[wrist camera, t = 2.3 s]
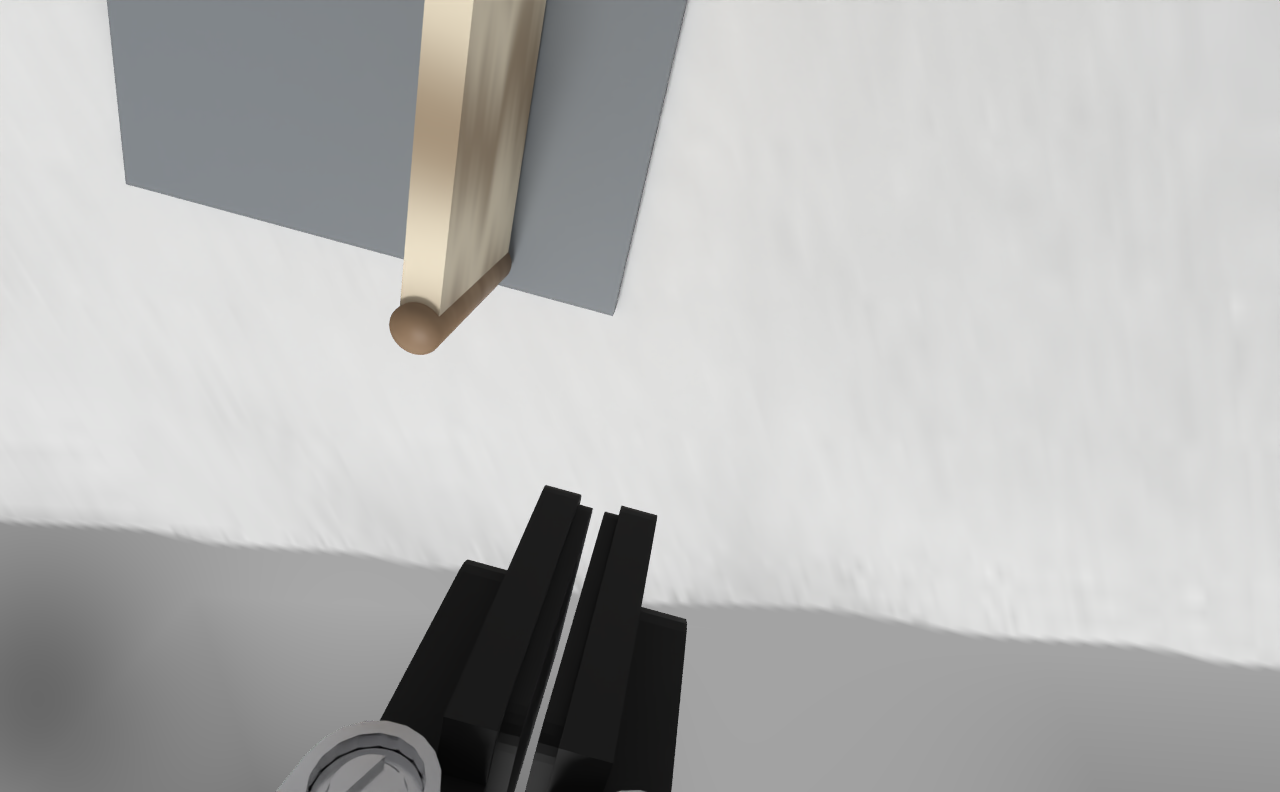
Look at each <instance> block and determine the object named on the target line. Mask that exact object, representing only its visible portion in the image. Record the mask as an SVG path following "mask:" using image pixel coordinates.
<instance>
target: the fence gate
mask: <svg viewBox="0 0 1280 792" xmlns="http://www.w3.org/2000/svg"><path fill="white" fill-rule="evenodd" d="M545 6H546V0H425V3H424V15H423V27H422V40H421V52H420V65H419V77H418V90H417V102H416V114H415V127H414V139H413V152H412V164H411V176H410V189H409V201H408V214H407V226H406V239H405V251H404V263H403V276H402V288H401V301H400V307H398V308H397V309H396V310H395V311H394V312H393V313H392V315H391V318H390V322H389V327H390V332H391V335H392V337H393V339H394V340H395V342H396V343H397V344H398V345H399V346H400V347H401V348H403V349H404V350H406V351H407V352H410V353H412V354H417V355H424V354H428V353H430V352H432V351H434V350H435V349H436V348H437V347H438V346H439V345H440V344H441V343H442V342H443V341H444V340H445V339H446V338H447V337H448V336H449V335H450V334H451V333H452V332H453V331H454V330H455V329H456V327H457V326H458V325H459V324H460V323H461V322H462V321H463V320H464V319H465V318H466V317H467V316H468V315H469V314H470V313H471V312H472V311H473V310H474V309H475V308H476V307H477V306H478V305H479V304H480V303H481V302H482V301H483V300H484V299H485V298H486V297H487V296H488V295H489V294H490V293H491V292H492V291H493V290H494V288H495V287H496V286H497V285H498V284H499V283H500V282H501V281H502V280H503V279H504V278H505V277H506V276H507V275H508V274H509V272H510V270H511V265H512V262H511V257H510V254H509V252H508V251H509V244H510V238H511V231H512V224H513V218H514V211H515V204H516V198H517V191H518V185H519V178H520V171H521V165H522V158H523V151H524V145H525V138H526V132H527V125H528V118H529V112H530V105H531V99H532V92H533V85H534V79H535V72H536V65H537V59H538V52H539V46H540V39H541V32H542V26H543V19H544V12H545Z"/></svg>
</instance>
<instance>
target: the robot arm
mask: <svg viewBox="0 0 1280 792" xmlns="http://www.w3.org/2000/svg"><path fill="white" fill-rule="evenodd" d="M580 501H581V495H580V494H577V493H573V492H569V491H566V490H562V489H558V488H555V487H551V486H547V485H546V486H545V487H544V489H543V491H542V493H541V495H540V497H539V500H538V502H537V504H536V507H535V509H534V511H533V513H532V516H531V518H530V520H529V522H528V525H527V527H526V529H525V532H524V534H523V536H522V538H521V541H520V543H519V545H518V548H517V550H516V552H515V554H514V557H513V559H512V561H511V563H510V566H509V568H508V570H504V569H500V568H497V567H493V566H489V565H486V564H482V563H478V562H475V561H471V560H466V561H465V562H464V563H463V565H462V567H461V568H460V570H459V572H458V574H457V576H456V577H455V580H454V581H453V583H452V585H451V587H450V589H449V591H448V593H447V595H446V596H445V598H444V600H443V602H442V604H441V606H440V608H439V610H438V612H437V613H436V615H435V617H434V619H433V621H432V623H431V625H430V627H429V629H428V630H427V632H426V634H425V636H424V638H423V640H422V642H421V644H420V645H419V647H418V649H417V651H416V653H415V655H414V657H413V659H412V661H411V663H410V664H409V666H408V668H407V670H406V672H405V674H404V676H403V678H402V680H401V682H400V683H399V685H398V687H397V689H396V691H395V693H394V695H393V697H392V699H391V701H390V702H389V704H388V706H387V708H386V710H385V712H384V714H383V716H382V718H381V719H380V721H364V722H360V723H356V724H353V725H350V726H346V727H342V728H341V729H339V730H337V731H335V732H334V733H332V734H330V735H328V736H326V737H325V738H323V739H322V740H320V741H319V742H318V743H317V744H316V745H315V746H314V747H313V748H312V749H311V750H310V751H309V752H308V753H307V754H306V755H305V756H304V757H303V758H302V760H301V761H300V762H299V763H298V765H297V766H296V767H295V768H294V770H293V771H292V772H291V773H290V774H289V776H288V777H287V778H286V779H285V781H284V782H283V783H282V784H281V786H280V787H279V788H278V789H277V791H276V792H514V791H515V788H516V784H517V781H518V778H519V774H520V771H521V768H522V764H523V761H524V758H525V755H526V751H527V748H528V745H529V741H530V738H531V735H532V732H533V728H534V725H535V721H536V718H537V715H538V712H539V708H540V705H541V702H542V698H543V695H544V692H545V689H546V685H547V682H548V679H549V675H550V672H551V669H552V665H553V662H554V659H555V655H556V651H557V648H558V644H559V641H560V637H561V633H562V629H563V625H564V621H565V617H566V613H567V609H568V605H569V601H570V597H571V594H572V590H573V586H574V582H575V578H576V574H577V570H578V566H579V562H580V558H581V554H582V550H583V546H584V542H585V538H586V534H587V530H588V526H589V522H590V518H591V514H592V510H593V508H590V507H586V506H583V505H580ZM656 521H657V515H654V514H650V513H646V512H643V511H639V510H635V509H632V508H628V507H624V506H621V510H620V513H619V515H616V514H612V513H608V512H605V513H604V516H603V519H602V523H601V526H600V530H599V533H598V537H597V540H596V543H595V547H594V550H593V554H592V557H591V561H590V564H589V567H588V571H587V574H586V578H585V581H584V585H583V588H582V592H581V595H580V598H579V602H578V605H577V609H576V612H575V616H574V619H573V623H572V626H571V629H570V633H569V636H568V640H567V643H566V647H565V650H564V654H563V657H562V660H561V664H560V667H559V671H558V674H557V678H556V681H555V684H554V688H553V692H552V695H551V699H550V702H549V705H548V709H547V712H546V715H545V719H544V722H543V726H542V730H541V733H540V737H539V741H538V744H537V748H536V752H535V755H534V759H533V764H532V767H531V771H530V775H529V779H528V782H527V786H526V790H525V792H671V788H672V778H673V767H674V756H675V747H676V736H677V726H678V716H679V704H680V693H681V684H682V674H683V664H684V653H685V643H686V632H687V631H686V630H687V622H686V619H683V618H680V617H676V616H672V615H669V614H665V613H661V612H658V611H654V610H651V609H647V608H643V607H641V605H642V599H643V594H644V588H645V583H646V577H647V571H648V566H649V560H650V555H651V549H652V544H653V538H654V532H655V527H656Z"/></svg>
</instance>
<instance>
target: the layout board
mask: <svg viewBox="0 0 1280 792" xmlns="http://www.w3.org/2000/svg"><path fill="white" fill-rule="evenodd" d="M424 3H425V0H107V6H108V16H109V25H110V35H111V45H112V54H113V64H114V73H115V83H116V93H117V102H118V112H119V122H120V131H121V141H122V151H123V160H124V170H125V179H126V184H128V185H132V186H135V187H139V188H143V189H147V190H150V191H154V192H158V193H161V194H165V195H169V196H172V197H176V198H180V199H183V200H187V201H191V202H194V203H198V204H202V205H206V206H209V207H213V208H217V209H220V210H224V211H228V212H231V213H235V214H239V215H242V216H246V217H250V218H253V219H257V220H261V221H265V222H268V223H272V224H276V225H279V226H283V227H287V228H290V229H294V230H298V231H301V232H305V233H309V234H312V235H316V236H320V237H323V238H327V239H331V240H335V241H338V242H342V243H346V244H349V245H353V246H357V247H360V248H364V249H368V250H371V251H375V252H379V253H382V254H386V255H390V256H394V257H397V258H401V259H404V251H405V239H406V226H407V214H408V201H409V189H410V176H411V164H412V152H413V139H414V127H415V114H416V102H417V90H418V77H419V65H420V52H421V40H422V27H423V15H424ZM686 3H687V0H546V6H545V12H544V19H543V26H542V32H541V39H540V46H539V52H538V59H537V65H536V72H535V79H534V85H533V92H532V99H531V105H530V112H529V118H528V125H527V132H526V138H525V145H524V151H523V158H522V165H521V171H520V178H519V185H518V191H517V198H516V204H515V211H514V218H513V224H512V231H511V238H510V244H509V251H508V252H509V254H510V257H511V262H512V265H511V270H510V272H509V274H508V275H507V276H506V277H505V278H504V279H503V280H502V281H501V282H500V283H499V284H498V285H500V286H504V287H508V288H511V289H515V290H519V291H523V292H526V293H530V294H534V295H537V296H541V297H545V298H548V299H552V300H556V301H559V302H563V303H567V304H570V305H574V306H578V307H582V308H585V309H589V310H593V311H596V312H600V313H604V314H607V315H611V316H613V314H614V312H615V308H616V304H617V300H618V295H619V291H620V287H621V282H622V278H623V274H624V269H625V265H626V261H627V257H628V252H629V248H630V244H631V239H632V235H633V231H634V226H635V222H636V218H637V214H638V209H639V205H640V201H641V196H642V192H643V188H644V184H645V179H646V175H647V171H648V166H649V162H650V158H651V153H652V149H653V145H654V141H655V136H656V132H657V128H658V123H659V119H660V115H661V110H662V106H663V102H664V98H665V93H666V89H667V85H668V80H669V76H670V72H671V68H672V63H673V59H674V55H675V50H676V46H677V42H678V37H679V33H680V29H681V25H682V20H683V16H684V12H685V7H686Z"/></svg>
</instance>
